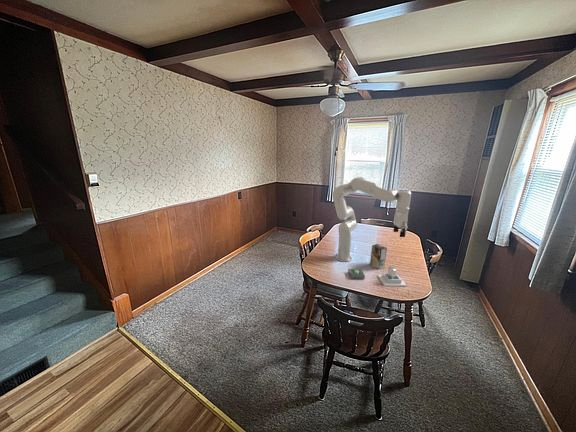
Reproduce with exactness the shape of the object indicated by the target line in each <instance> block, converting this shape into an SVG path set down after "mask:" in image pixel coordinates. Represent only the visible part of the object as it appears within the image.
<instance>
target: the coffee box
mask: <svg viewBox="0 0 576 432" xmlns="http://www.w3.org/2000/svg"><path fill="white" fill-rule="evenodd" d="M370 251H371V253H370V261H369V264H370V266H372V267H374V268H376V269H378V270H382V269H384V268H385V266H386V260H387V258H386V257H387V251H388V247H386V246H383V245H380V244H379V243H376V244H373V245H371V250H370Z"/></svg>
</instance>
